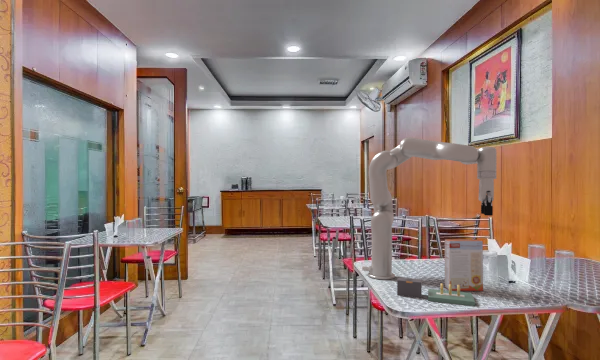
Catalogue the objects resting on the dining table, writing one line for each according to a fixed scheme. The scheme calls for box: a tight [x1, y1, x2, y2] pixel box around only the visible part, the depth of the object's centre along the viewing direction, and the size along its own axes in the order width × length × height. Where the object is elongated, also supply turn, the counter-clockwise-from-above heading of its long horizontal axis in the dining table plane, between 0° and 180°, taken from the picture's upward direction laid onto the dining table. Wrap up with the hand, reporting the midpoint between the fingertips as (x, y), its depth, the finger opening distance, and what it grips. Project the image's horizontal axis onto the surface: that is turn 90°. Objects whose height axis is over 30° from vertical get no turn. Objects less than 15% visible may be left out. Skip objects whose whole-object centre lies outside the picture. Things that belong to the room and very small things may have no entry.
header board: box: [427, 283, 476, 307], centre depth 140 cm, size 16×12×6 cm
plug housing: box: [396, 277, 423, 299], centre depth 145 cm, size 9×5×6 cm, turn 71°
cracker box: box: [444, 238, 484, 292], centre depth 154 cm, size 14×6×21 cm, turn 89°
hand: (486, 214), depth 159 cm, fingers open, 9 cm apart
